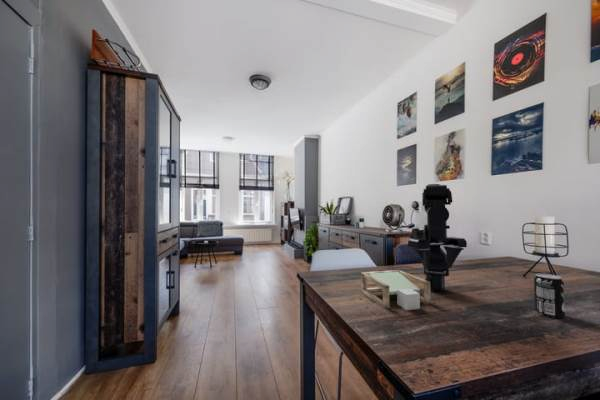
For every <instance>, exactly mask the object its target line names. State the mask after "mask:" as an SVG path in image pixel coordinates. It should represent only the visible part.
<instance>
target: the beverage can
mask: <svg viewBox="0 0 600 400" xmlns="http://www.w3.org/2000/svg"><path fill="white" fill-rule="evenodd" d="M533 284H534V285H533V286H534V287H533V290H534V291H533V292H534V309H535V311H536V313H538V314H539V315H542V316H544V317H548V318H553V319H562V318H563V317H565V316H566V304H565V303H566V302H565V283H564V281H563V278H562V276H559V275H556V274H551V273H550V274H549V273H535V277H533Z"/></svg>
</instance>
